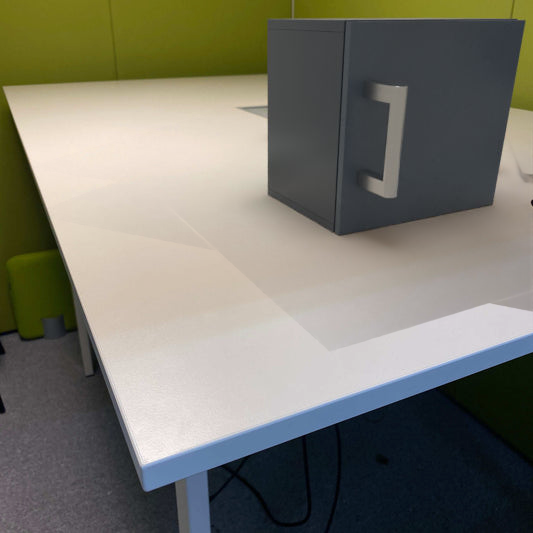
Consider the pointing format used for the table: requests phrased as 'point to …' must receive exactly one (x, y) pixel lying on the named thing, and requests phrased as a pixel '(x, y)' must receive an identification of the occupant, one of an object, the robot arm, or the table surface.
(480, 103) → the door
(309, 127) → the cabinet
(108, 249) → the table surface
